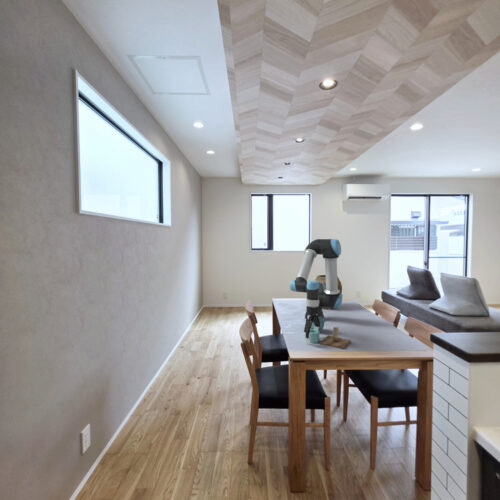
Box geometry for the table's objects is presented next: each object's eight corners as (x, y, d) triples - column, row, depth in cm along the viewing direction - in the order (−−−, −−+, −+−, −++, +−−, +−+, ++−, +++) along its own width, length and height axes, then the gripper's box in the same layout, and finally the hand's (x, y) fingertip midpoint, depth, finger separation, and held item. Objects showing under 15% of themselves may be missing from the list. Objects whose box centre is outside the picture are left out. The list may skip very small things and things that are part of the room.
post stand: (320, 343, 163) (320, 328, 162) (328, 337, 174) (328, 323, 174) (343, 349, 155) (344, 333, 154) (350, 341, 166) (350, 327, 166)
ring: (303, 341, 167) (303, 331, 167) (308, 337, 173) (308, 328, 173) (315, 344, 162) (316, 334, 162) (320, 340, 169) (320, 330, 169)
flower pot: (315, 333, 180) (315, 320, 180) (306, 330, 188) (306, 317, 188) (325, 332, 184) (325, 319, 184) (316, 328, 192) (316, 315, 192)
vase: (308, 304, 263) (309, 274, 262) (334, 304, 266) (335, 274, 265) (318, 311, 237) (319, 277, 237) (346, 311, 240) (347, 277, 239)
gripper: (310, 310, 155) (309, 347, 155) (325, 303, 175) (324, 335, 176) (298, 308, 159) (297, 344, 160) (314, 301, 179) (313, 333, 180)
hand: (312, 339), depth 168 cm, fingers open, 13 cm apart
